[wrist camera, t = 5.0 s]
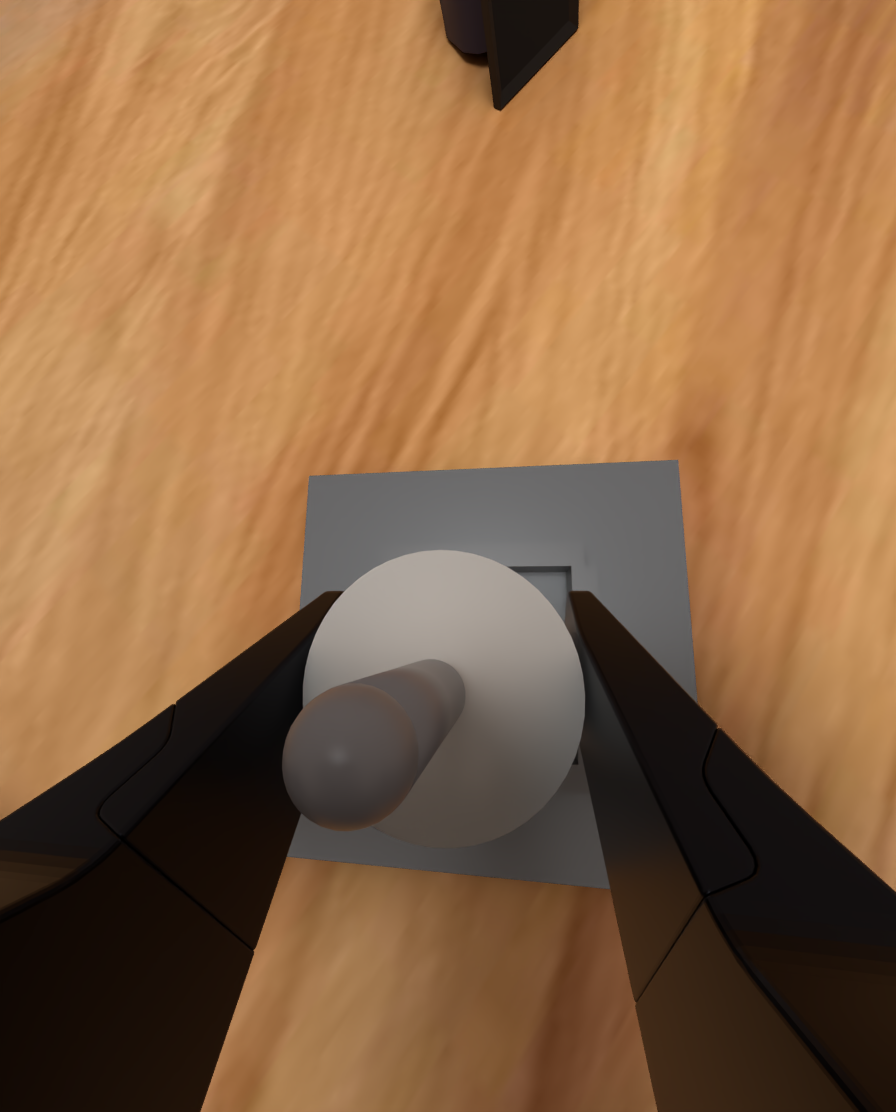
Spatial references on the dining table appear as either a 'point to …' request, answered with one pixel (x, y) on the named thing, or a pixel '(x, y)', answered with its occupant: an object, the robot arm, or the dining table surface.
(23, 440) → the dining table surface
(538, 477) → the dock
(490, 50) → the speaker
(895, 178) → the dining table surface
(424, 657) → the plug
